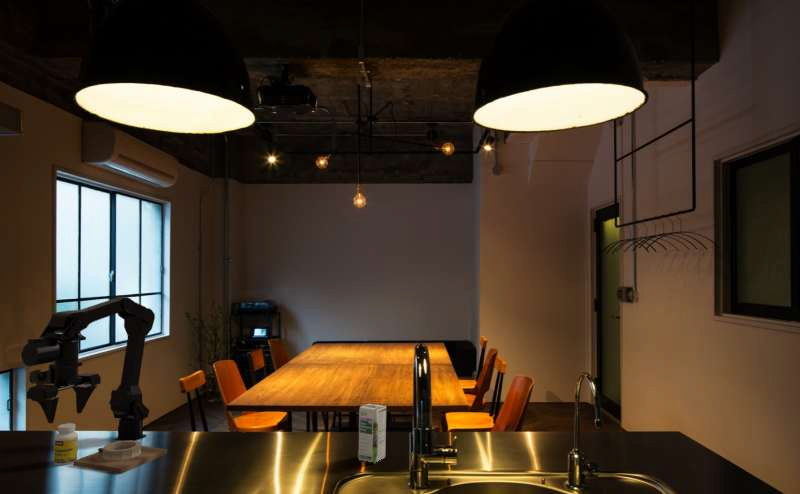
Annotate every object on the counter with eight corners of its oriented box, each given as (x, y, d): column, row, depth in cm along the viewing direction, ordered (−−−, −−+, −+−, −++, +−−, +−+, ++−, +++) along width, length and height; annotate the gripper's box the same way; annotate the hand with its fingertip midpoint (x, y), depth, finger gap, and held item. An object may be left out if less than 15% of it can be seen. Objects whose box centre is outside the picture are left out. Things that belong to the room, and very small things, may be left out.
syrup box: (357, 460, 151) (358, 406, 151) (368, 454, 156) (369, 402, 156) (375, 464, 148) (376, 409, 148) (386, 457, 153) (386, 405, 154)
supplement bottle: (50, 466, 143) (51, 428, 143) (57, 459, 148) (58, 423, 148) (73, 465, 144) (74, 427, 145) (79, 458, 149) (81, 421, 150)
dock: (121, 447, 159) (122, 434, 159) (166, 453, 154) (167, 440, 154) (72, 465, 144) (73, 451, 144) (120, 473, 139) (121, 458, 139)
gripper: (69, 351, 157) (68, 406, 157) (9, 364, 139) (8, 426, 139) (102, 353, 155) (101, 409, 154) (45, 366, 137) (44, 429, 136)
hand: (65, 418), depth 146 cm, fingers open, 9 cm apart
